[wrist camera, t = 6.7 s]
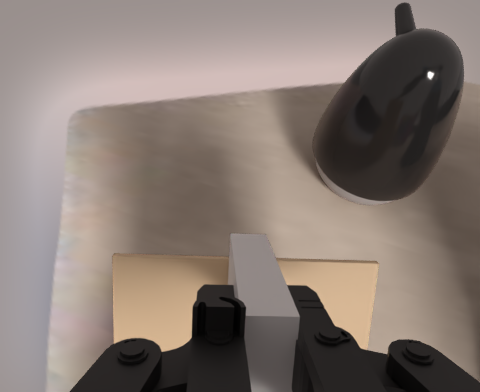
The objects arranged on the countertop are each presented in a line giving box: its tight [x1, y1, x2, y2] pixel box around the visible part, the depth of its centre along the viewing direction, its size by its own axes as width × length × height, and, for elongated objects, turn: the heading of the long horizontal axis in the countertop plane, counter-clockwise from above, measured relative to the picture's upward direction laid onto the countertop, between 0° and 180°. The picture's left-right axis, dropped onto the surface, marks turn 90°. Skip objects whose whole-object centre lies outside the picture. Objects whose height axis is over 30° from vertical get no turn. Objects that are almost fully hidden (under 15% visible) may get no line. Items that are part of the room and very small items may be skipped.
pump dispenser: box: [313, 3, 464, 205], centre depth 31 cm, size 10×10×15 cm
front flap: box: [112, 253, 379, 352], centre depth 17 cm, size 11×7×1 cm
